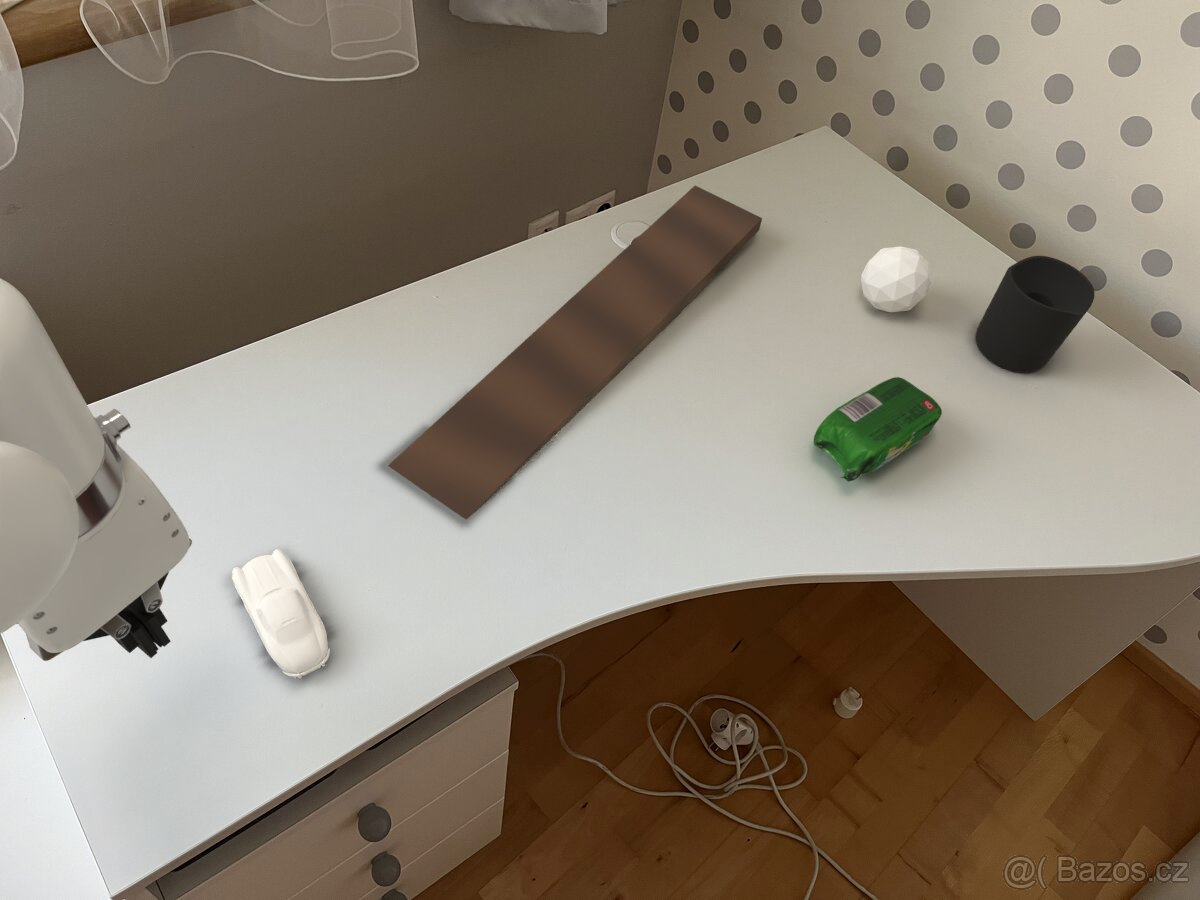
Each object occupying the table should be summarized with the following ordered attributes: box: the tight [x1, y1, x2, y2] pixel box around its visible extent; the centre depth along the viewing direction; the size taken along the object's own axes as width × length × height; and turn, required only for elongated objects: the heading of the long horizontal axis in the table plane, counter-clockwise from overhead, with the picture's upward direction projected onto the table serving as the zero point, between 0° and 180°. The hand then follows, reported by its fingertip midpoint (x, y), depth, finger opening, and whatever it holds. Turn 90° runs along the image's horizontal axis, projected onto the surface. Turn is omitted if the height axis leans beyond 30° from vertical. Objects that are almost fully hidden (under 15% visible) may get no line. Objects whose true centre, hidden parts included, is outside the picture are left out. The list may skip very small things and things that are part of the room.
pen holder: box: [975, 255, 1096, 373], centre depth 102 cm, size 9×9×10 cm
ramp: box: [387, 185, 763, 520], centre depth 99 cm, size 56×10×5 cm, turn 144°
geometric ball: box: [860, 245, 932, 313], centre depth 106 cm, size 8×8×8 cm
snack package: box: [813, 376, 943, 482], centre depth 92 cm, size 7×16×5 cm, turn 128°
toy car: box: [231, 548, 331, 680], centre depth 74 cm, size 5×12×4 cm, turn 34°
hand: (146, 637), depth 61 cm, fingers closed
